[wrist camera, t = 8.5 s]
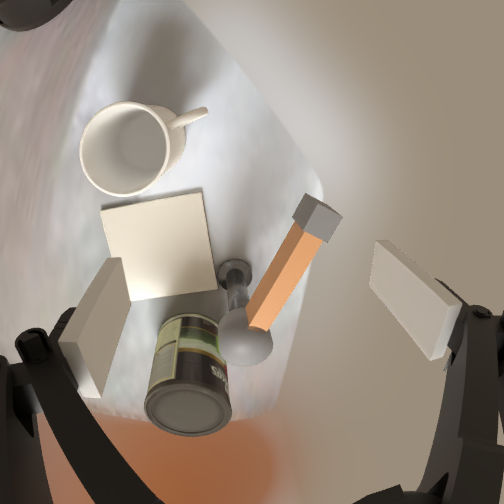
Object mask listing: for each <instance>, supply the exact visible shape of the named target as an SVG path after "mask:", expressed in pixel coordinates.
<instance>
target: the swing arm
mask: <svg viewBox="0 0 504 504" xmlns="http://www.w3.org/2000/svg"><path fill="white" fill-rule="evenodd" d="M292 218H293V219H294V220H295V222H294V224H293V225H292V227H291V229H290V231H289V232H288V234H287V236H286V238H285V240H284V241H283V243H282V245H281V247H280V248H279V250H278V252H277V254H276V255H275V257H274V259H273V261H272V262H271V264H270V266H269V268H268V269H267V271H266V273H265V275H264V276H263V278H262V280H261V282H260V283H259V285H258V287H257V289H256V290H255V292H254V294H253V295H252V297H251V299H250V301H249V302H248V304H247V306H246V308H237V309H234V310H231V311H229V312H228V313H226V314H225V315H224V316H223V317H222V318H221V320H220V322H219V325H218V339H219V352H220V355H221V356H222V358H223V359H224V360H225V361H226V362H228V363H230V364H232V365H234V366H239V367H248V366H253V365H256V364H259V363H261V362H262V361H264V360H265V359H266V358H267V357H268V356H269V355H270V353H271V351H272V348H273V341H272V337H271V333H270V330H269V328H270V326H271V325H272V323H273V321H274V320H275V318H276V317H277V315H278V314H279V312H280V310H281V309H282V307H283V306H284V304H285V302H286V301H287V299H288V298H289V296H290V294H291V293H292V291H293V290H294V288H295V286H296V285H297V283H298V282H299V280H300V278H301V277H302V275H303V273H304V272H305V270H306V268H307V267H308V265H309V264H310V262H311V260H312V259H313V257H314V255H315V253H316V252H317V250H318V248H319V247H320V245H321V243H322V242H323V241H325V242H327V243H328V241H329V240H330V238H331V236H332V235H333V233H334V231H335V230H336V228H337V226H338V224H339V223H340V221H341V219H342V216H341V215H340V214H338V213H337V212H336V211H335V210H333V209H332V208H331V207H329V206H328V205H327V204H325V203H323V202H321V201H319V200H317V199H316V198H314V197H312V196H310V195H308V194H306V193H305V195H304V196H303V198H302V200H301V202H300V204H299V205H298V207H297V209H296V211H295V213H294V214H293V216H292Z"/></svg>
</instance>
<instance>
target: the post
mask: <svg viewBox="0 0 504 504" xmlns="http://www.w3.org/2000/svg"><path fill="white" fill-rule="evenodd" d="M218 280H219V283H220V285H221V286H222V287H223V288H224V289H226V290H227V295H228V305H229V311H231V310H234V309H237V308H246V306H247V304H248V302H249V296H248V291H247V286H248V285H249V284H250V282H251V280H252V273H251V269H250V267H249V265H248V264H247V263H246V262H244V261H242V260H239V259H231V260H228V261H226V262H224V263H223V264H222V265H221V266H220V268H219V271H218Z"/></svg>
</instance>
